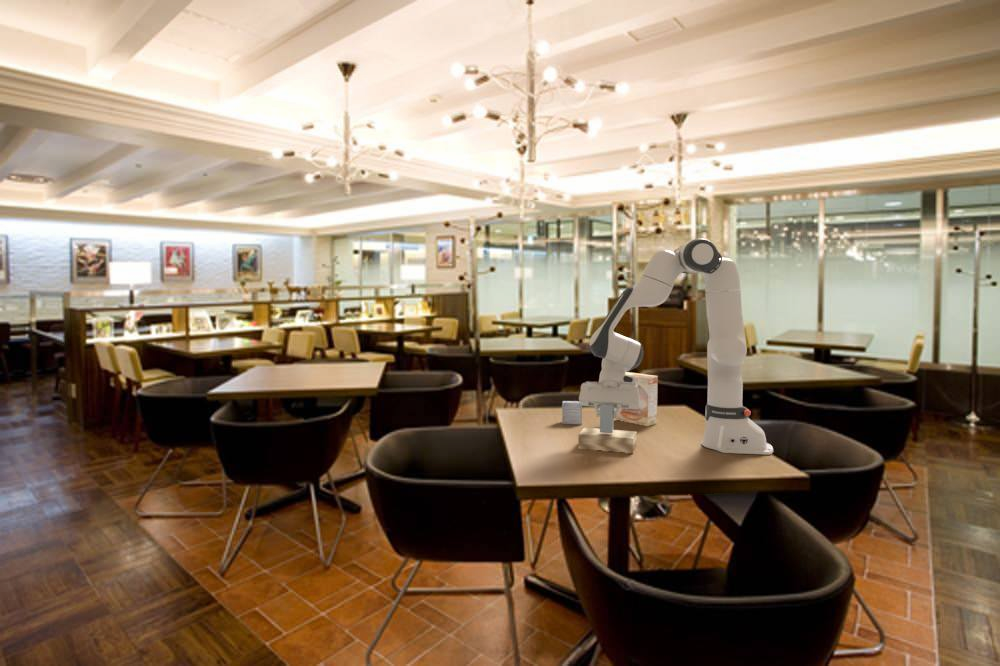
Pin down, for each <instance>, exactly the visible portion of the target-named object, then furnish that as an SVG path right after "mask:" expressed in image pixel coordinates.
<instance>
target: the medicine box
mask: <svg viewBox="0 0 1000 666" xmlns="http://www.w3.org/2000/svg"><path fill="white" fill-rule="evenodd" d="M561 412H562V413H561V420H562V421H561V424H562V425H583V406H582V405H581V404H580V402H579V401H578V400H563V401H562V403H561Z"/></svg>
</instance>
